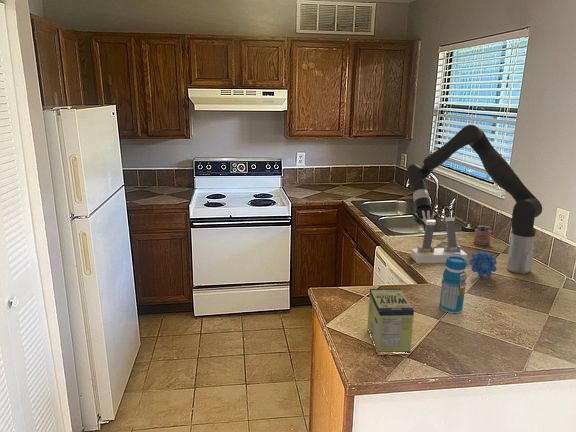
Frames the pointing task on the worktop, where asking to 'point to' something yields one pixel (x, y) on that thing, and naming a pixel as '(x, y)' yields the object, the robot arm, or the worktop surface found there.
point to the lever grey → (451, 233)
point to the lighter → (482, 235)
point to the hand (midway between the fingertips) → (428, 232)
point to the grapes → (483, 263)
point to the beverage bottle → (453, 285)
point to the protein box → (390, 320)
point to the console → (436, 254)
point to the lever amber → (428, 235)
